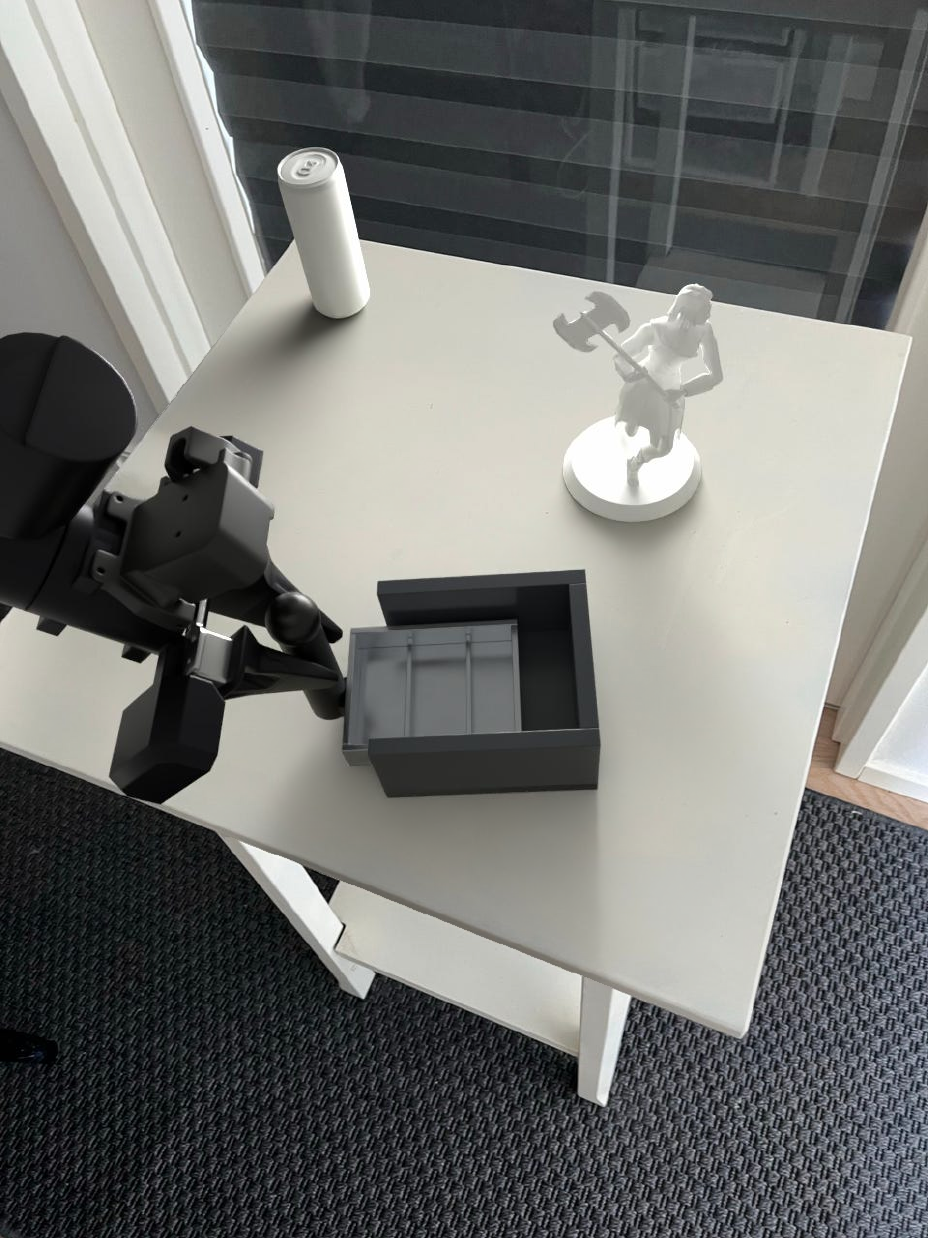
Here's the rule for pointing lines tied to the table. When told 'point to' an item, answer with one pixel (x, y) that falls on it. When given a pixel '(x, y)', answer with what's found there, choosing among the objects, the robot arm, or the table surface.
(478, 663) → the pull-out drawer
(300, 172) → the beverage can
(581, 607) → the grey drawer case
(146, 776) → the robot arm
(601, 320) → the figurine
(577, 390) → the table surface
